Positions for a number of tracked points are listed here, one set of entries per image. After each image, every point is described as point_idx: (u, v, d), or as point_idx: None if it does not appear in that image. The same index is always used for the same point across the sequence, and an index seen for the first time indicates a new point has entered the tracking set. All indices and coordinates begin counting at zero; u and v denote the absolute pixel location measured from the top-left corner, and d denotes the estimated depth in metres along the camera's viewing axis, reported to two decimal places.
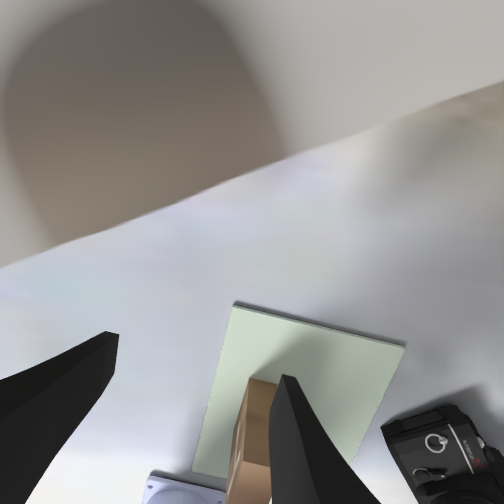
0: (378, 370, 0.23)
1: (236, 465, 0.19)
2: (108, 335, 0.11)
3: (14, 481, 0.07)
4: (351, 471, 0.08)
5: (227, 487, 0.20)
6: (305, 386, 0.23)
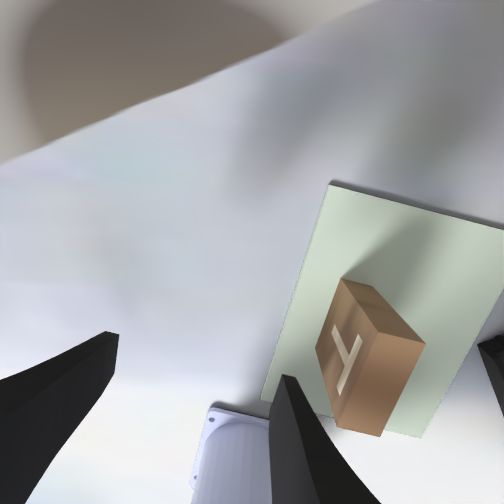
0: (495, 265, 0.19)
1: (354, 353, 0.15)
2: (108, 335, 0.11)
3: (14, 481, 0.07)
4: (351, 471, 0.08)
5: (332, 390, 0.17)
6: (406, 288, 0.20)
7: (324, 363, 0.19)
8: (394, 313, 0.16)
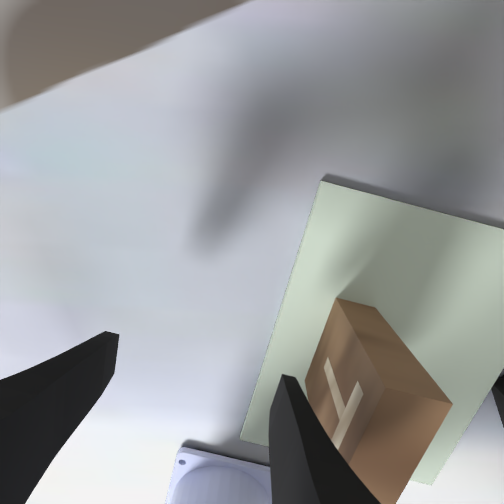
0: None
1: (351, 407, 0.11)
2: (107, 335, 0.11)
3: (14, 481, 0.07)
4: (351, 471, 0.08)
5: None
6: (417, 310, 0.16)
7: (314, 406, 0.15)
8: (405, 350, 0.12)
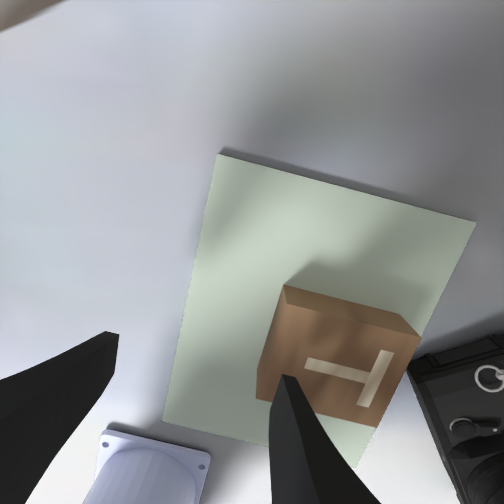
0: (433, 259, 0.15)
1: (381, 367, 0.15)
2: (108, 335, 0.11)
3: (14, 481, 0.07)
4: (351, 471, 0.08)
5: (346, 411, 0.15)
6: (324, 287, 0.16)
7: None
8: (354, 304, 0.16)
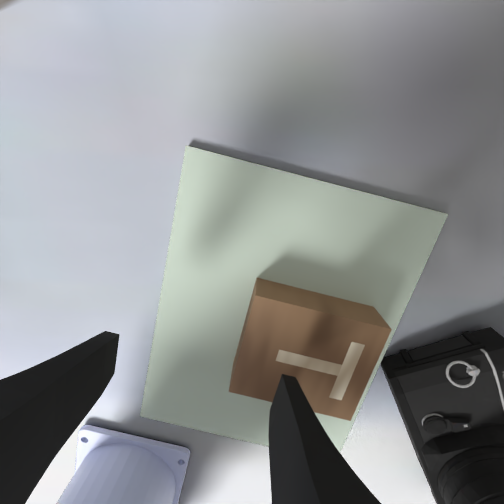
0: (405, 251, 0.15)
1: (352, 359, 0.15)
2: (108, 335, 0.11)
3: (14, 481, 0.07)
4: (351, 471, 0.08)
5: (319, 404, 0.15)
6: (297, 280, 0.16)
7: None
8: (327, 296, 0.16)
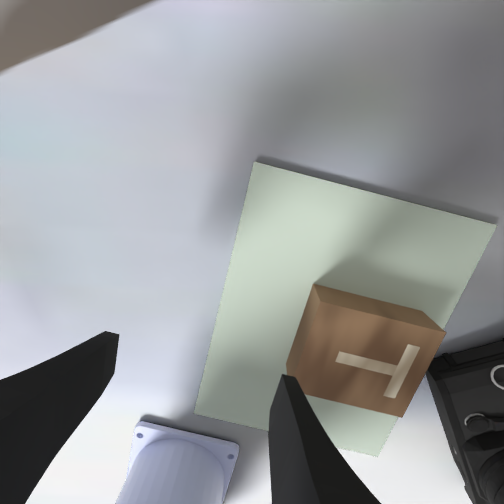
0: (455, 259, 0.16)
1: (407, 360, 0.16)
2: (107, 335, 0.11)
3: (14, 481, 0.07)
4: (351, 471, 0.08)
5: (374, 402, 0.17)
6: (351, 286, 0.17)
7: (336, 392, 0.16)
8: (380, 301, 0.17)
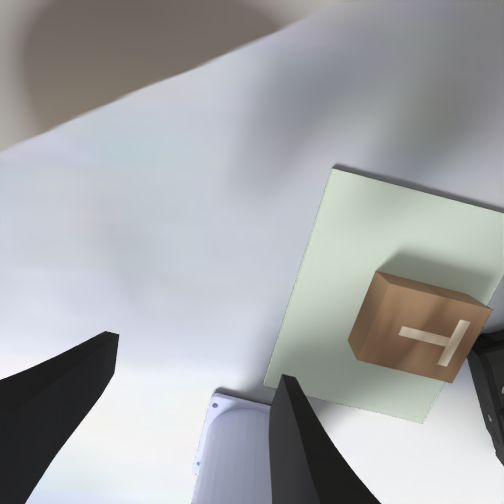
0: (497, 249, 0.20)
1: (459, 333, 0.19)
2: (107, 335, 0.11)
3: (14, 481, 0.07)
4: (351, 471, 0.08)
5: (429, 370, 0.20)
6: (408, 273, 0.20)
7: (397, 361, 0.20)
8: (432, 286, 0.20)
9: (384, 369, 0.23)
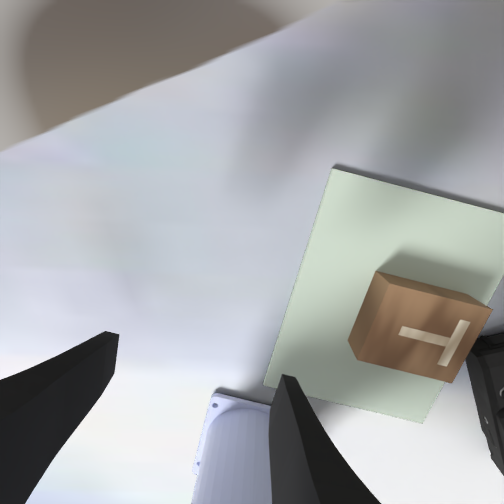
0: (497, 249, 0.20)
1: (459, 333, 0.19)
2: (107, 335, 0.11)
3: (14, 481, 0.07)
4: (351, 471, 0.08)
5: (429, 370, 0.20)
6: (408, 273, 0.20)
7: (397, 361, 0.20)
8: (432, 286, 0.20)
9: (384, 369, 0.23)
